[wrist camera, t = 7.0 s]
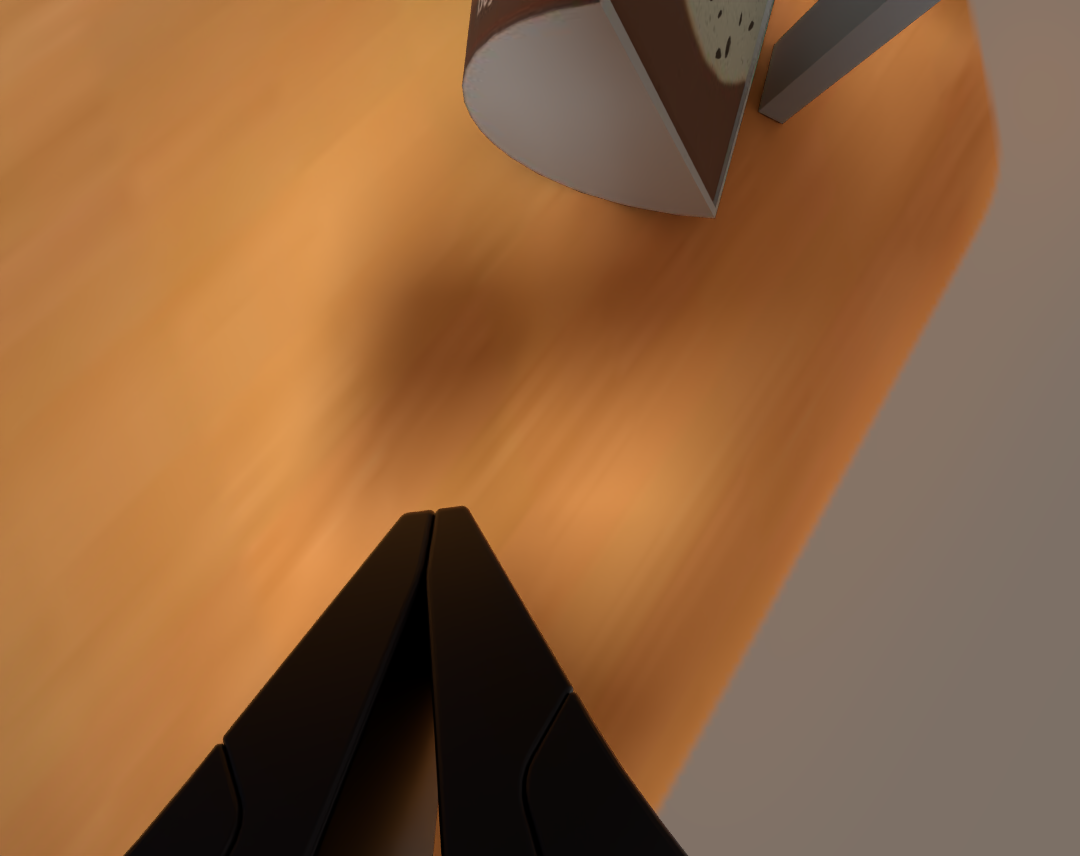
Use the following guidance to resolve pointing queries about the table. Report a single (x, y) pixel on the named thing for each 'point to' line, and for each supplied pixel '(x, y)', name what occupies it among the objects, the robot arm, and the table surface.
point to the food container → (617, 92)
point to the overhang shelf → (830, 48)
